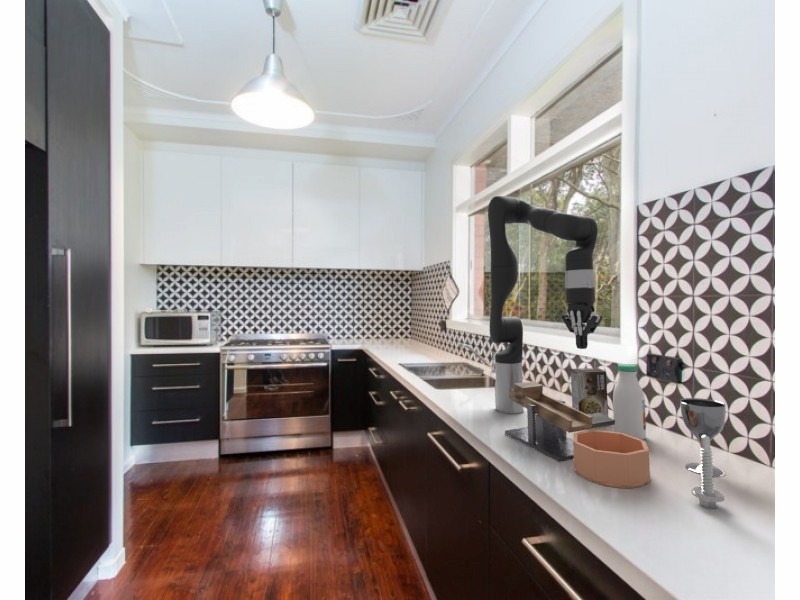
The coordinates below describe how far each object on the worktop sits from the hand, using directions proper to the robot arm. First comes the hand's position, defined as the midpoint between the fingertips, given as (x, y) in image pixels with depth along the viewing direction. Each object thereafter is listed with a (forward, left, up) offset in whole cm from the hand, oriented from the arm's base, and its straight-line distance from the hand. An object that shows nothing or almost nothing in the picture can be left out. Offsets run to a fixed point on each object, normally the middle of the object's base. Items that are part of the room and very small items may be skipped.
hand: (581, 348), depth 108 cm
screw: (+36, -7, -25) cm, 44 cm away
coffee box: (-12, +14, -25) cm, 31 cm away
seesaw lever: (-1, -9, -17) cm, 19 cm away
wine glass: (+26, +8, -25) cm, 37 cm away
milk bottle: (+4, +12, -25) cm, 28 cm away
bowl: (+19, -12, -25) cm, 34 cm away
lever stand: (-1, -12, -25) cm, 28 cm away
